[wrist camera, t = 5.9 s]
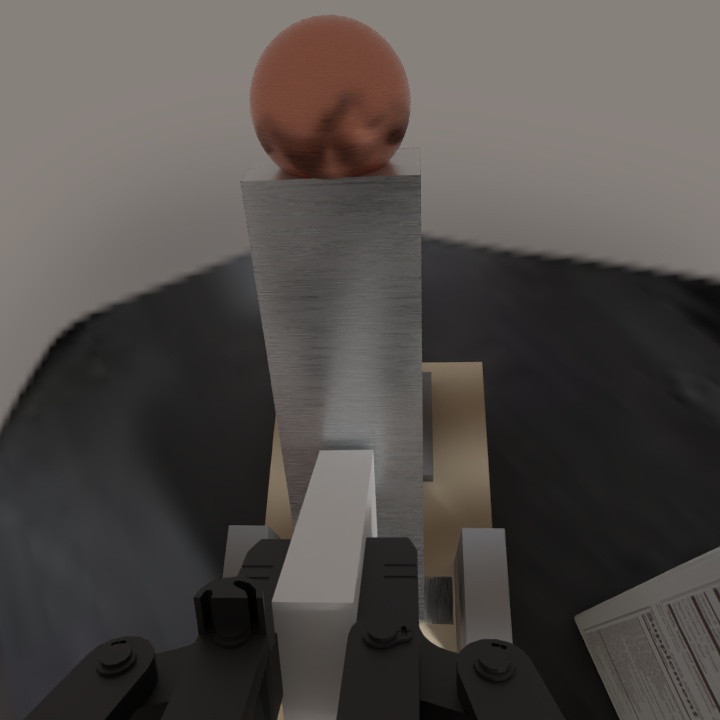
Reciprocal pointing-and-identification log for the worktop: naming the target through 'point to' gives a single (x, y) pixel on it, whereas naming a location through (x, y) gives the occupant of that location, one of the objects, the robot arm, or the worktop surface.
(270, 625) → the robot arm
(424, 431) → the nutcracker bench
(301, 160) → the lever
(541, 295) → the worktop surface
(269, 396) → the worktop surface
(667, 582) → the supplement box
